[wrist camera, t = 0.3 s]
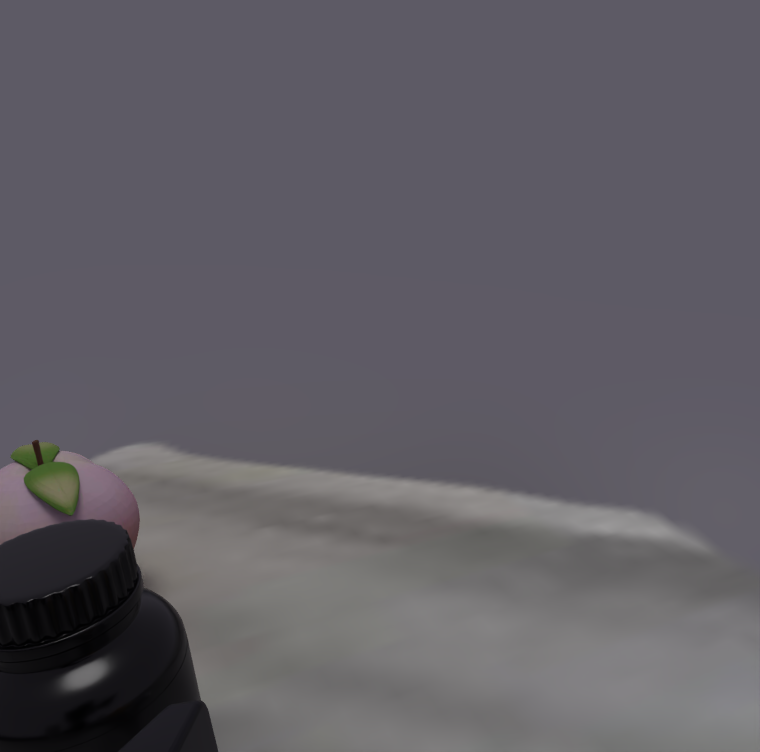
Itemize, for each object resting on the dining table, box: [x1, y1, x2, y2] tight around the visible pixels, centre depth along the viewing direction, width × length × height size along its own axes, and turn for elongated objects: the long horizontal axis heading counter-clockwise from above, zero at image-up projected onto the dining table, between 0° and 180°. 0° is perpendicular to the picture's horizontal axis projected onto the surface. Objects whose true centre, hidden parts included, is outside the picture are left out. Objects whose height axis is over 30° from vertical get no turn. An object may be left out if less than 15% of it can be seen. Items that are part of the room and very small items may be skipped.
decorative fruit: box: [0, 440, 140, 549], centre depth 38 cm, size 9×8×10 cm
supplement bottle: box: [0, 519, 201, 752], centre depth 23 cm, size 7×7×12 cm
